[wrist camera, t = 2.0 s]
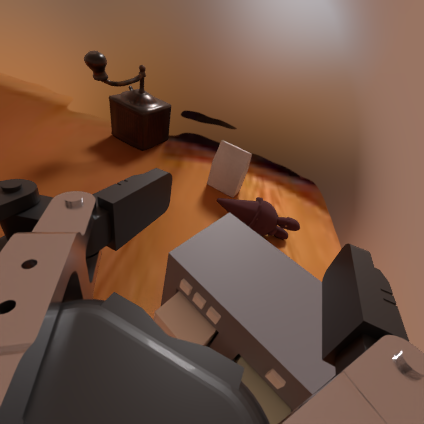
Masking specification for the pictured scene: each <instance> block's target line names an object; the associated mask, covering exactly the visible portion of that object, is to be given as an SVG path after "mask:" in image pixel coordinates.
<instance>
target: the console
mask: <svg viewBox="0 0 424 424" xmlns="http://www.w3.org/2000/svg"><path fill="white" fill-rule="evenodd" d="M179 291H180V292H181V293H182V294H183V295H184V296H185V297H186V298H187V299H188V301H189V302H190V303H191V304H192V305H193V306H194V307H195V308H196V309H197V310H198V311H199V312H200V313H201V314H202V315H203V316H204V317H205V318H206V320H207V321H208V322H209V323H210V324H211V325H212V326H213V327H214V328H215V329H216V330H217V331H218V333H217V334H216V335H215V336H214V337H213V339H212V340H211V341H210V342H209V343H208V344H207V347H210V348H211V349H213V350H215V351H216V352H218V353H220V354H222V355H223V356H225V357H227V358H228V359H230V360H232V361H233V360H234V359H235V358H236V356H237V355H238V354H240V355H241V357H242V358H243V359H244V360H245V361H246V362H247V363H248V364H249V365H250V366H251V367H252V368H253V369H254V370H255V371H256V372H257V373H258V374H259V376H260V377H261V378H262V379H263V380H264V381H265V382H266V383H267V384H268V385H269V386H270V387H271V388H272V389H273V390H274V391H275V392H276V394H277V395H278V396H279V397H280V398H281V399H282V400H283V401H284V402H285V403H286V404H287V405H288V406H289V407H290V408H291V409H292V410H291V412H292V411H293V410H294V409H296V408H297V407H298V406H299V405H300V404H302V403H303V402H304V401H305V400H306V399H308V398H309V397H310V396H311V395H312V394H313V393H315V392H316V391H317V390H318V389H319V388H321V387H322V386H323V385H324V384H325V383H326V382H328V381H329V380H330V379H331V378H332V377H334V376H335V375H336V374H335V367H334V366H332V365H330V364H328V363H327V362H325V361H323V360H322V282H321V281H319V280H318V279H317V278H315V277H314V276H313V275H312V274H310V273H309V272H308V271H306V270H305V269H304V268H302V267H301V266H300V265H298V264H297V263H296V262H294V261H293V260H292V259H290V258H289V257H288V256H286V255H285V254H284V253H283V252H281V251H280V250H279V249H277V248H276V247H275V246H273V245H272V244H271V243H269V242H268V241H267V240H265V239H264V238H263V237H261V236H260V235H259V234H257V233H256V232H255V231H254V230H252V229H251V228H250V227H248V226H247V225H246V224H244V223H243V222H242V221H240V220H239V219H238V218H236V217H235V216H234V215H232V214H231V213H230V212H229V213H228V214H226V215H225V216H223V217H222V218H220V219H219V220H217V221H216V222H214V223H213V224H211V225H210V226H208V227H207V228H205V229H204V230H202V231H201V232H199V233H198V234H196V235H195V236H193V237H192V238H190V239H189V240H187V241H186V242H184V243H183V244H181V245H180V246H178V247H177V248H175V249H174V250H172V251H171V252H169V255H168V261H167V268H166V275H165V281H164V288H163V295H162V301H161V306H162V305H163V304H165V303H166V302H167V301H168V300H169V299H170V298H172V297H173V296H174V295H175V294H176V293H178V292H179ZM291 412H290V413H291Z"/></svg>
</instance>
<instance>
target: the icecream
mask: <svg viewBox="0 0 424 424" xmlns="http://www.w3.org/2000/svg"><path fill="white" fill-rule="evenodd" d="M217 202H218V203H219V204H220V205H221V206H222V207H224V208H225V209H226V210H227V211H228V212H230V213H231V214H232V215H234V216H235V217H236V218H238V219H239V220H240V221H242V222H243V223H244V224H246V225H247V226H248V227H250V228H251V229H252V230H254V231H255V232H256V233H257V234H259V235H260V236H263V235H267V234H268V236H272V235H274V236H276V237H278V238H281V239H287V238H288V233H287V232H286V231H285V230H284V229H287V230H291V231H297V230H299V229H300V225H299V223H298V222H297V221H296V220H295V219H292V218H289V217H287V218H284V217H278V215H277V213H276V210H275V209H274V207H273V206H272V205H271V204H270V203H268V202H266V201H263V199H262V198H259V197H258V198H256V201H247V200H235V199H222V198H218V199H217ZM277 225H278V226H280V227H278V226H277ZM283 228H284V229H283Z"/></svg>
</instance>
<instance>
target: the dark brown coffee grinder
mask: <svg viewBox="0 0 424 424" xmlns="http://www.w3.org/2000/svg"><path fill="white" fill-rule="evenodd" d="M84 61H85V63H86V65H87V66H88V67H89V68H90V69H91V70H92V71H93V78H94V79H95V80H98V81H102V82H104V83H106V84H108V85H111V86H125V85H129V84H132V83H135V82H138V81H139V80H140V89H136V90H133V88H132V86H129V89H130V91H125V92H122V93H121V94H118V95H112V96H109V101H110V113H111V125H112V133H111V134H112V135H114V136H115V137H116V138H118V139H119V140H121V141H123V142H125V143H127V144H129V145H131V146H132V147H135V148H137V149H140V150H142V151H143V150H147V149H149V148H152V147H154V146H156V145H158V144H160V143H162V142H164V141H166V140H168V135H169V124H170V112H171V105H170V104H168V103H166V102H164V101H162V100H160V99H157V98H155V97H153V96H152V95H150V94H149V93H147V92H146V91H144V77H146V75H145V67H144V66H143V65H140V67H139V69H140V72H139V75H138V76H136V77H135V78H133V79H130V80H126V81H121V82H113V81H109V80H107V79H108V75H107V74H106V72H105V67H106V65H107V60H106V58H105V56H104V55H103V54H101V53H99V52H98V51H90V52H88V53H87V54H86V55H85V57H84Z"/></svg>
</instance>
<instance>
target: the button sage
mask: <svg viewBox="0 0 424 424" xmlns="http://www.w3.org/2000/svg"><path fill="white" fill-rule="evenodd" d="M233 361H234V362H235V363H237V364H239V365H241V366H242V367H244V372H243V375H242V379H241V381H242V382H243V383H244V384H245V385H246V386H247V387H248V388H249V390H250V391H251V392H252V393H253V395H254V396H255V398H256V399H257V401H258V402H259V404H260V405H261V407H262V409H263V411H264V412H265V414H266V416H267V418H268V420H269V423H270V424H278V423H279V422H280V421H281V420H282V419H284V418H285V417H286V416H287V415H288V414H290V412H291V410H292V409H291V408H290V407H289V406H288V405H287V404H286V403H285V402H284V401H283V400H282V399H281V398H280V397H279V396H278V395H277V394H276V392H275V391H274V390H273V389H272V388H271V387H270V386H269V385H268V384H267V383H266V382H265V381H264V380H263V379H262V378H261V377H260V376H259V374H258V373H257V372H256V371H255V370H254V369H253V368H252V367H251V366H250V365H249V364H248V363H247V362H246V361H245V360H244V359H243V358H242V357H241V355H240V354H238V355H237V356H236V358H235V359H234V360H233Z"/></svg>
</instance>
